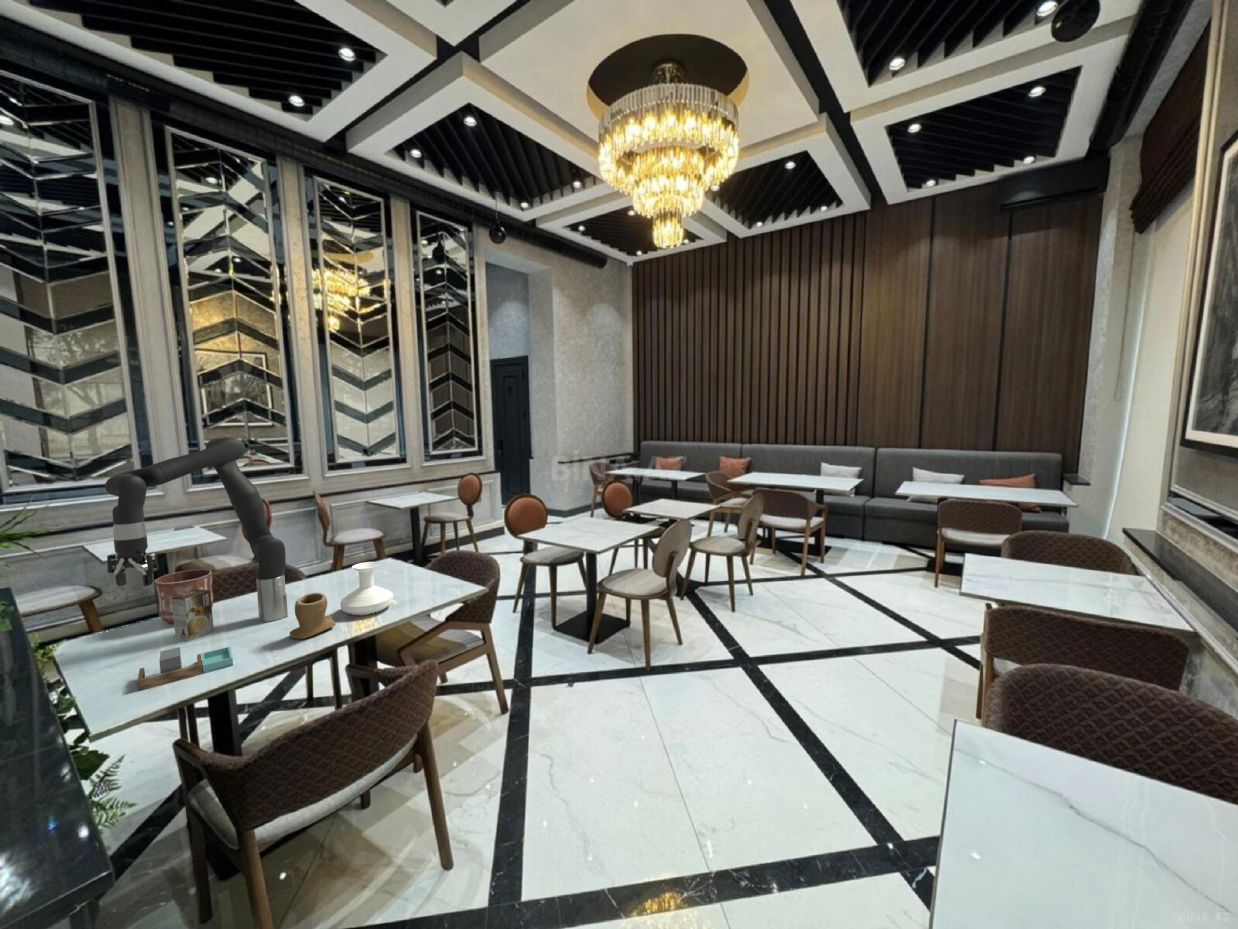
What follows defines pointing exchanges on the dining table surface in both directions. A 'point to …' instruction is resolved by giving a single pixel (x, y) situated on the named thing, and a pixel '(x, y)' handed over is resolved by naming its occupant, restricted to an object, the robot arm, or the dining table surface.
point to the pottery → (180, 589)
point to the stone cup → (311, 616)
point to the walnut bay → (169, 675)
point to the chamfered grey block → (170, 660)
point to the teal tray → (217, 659)
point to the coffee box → (192, 614)
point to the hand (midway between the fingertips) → (134, 585)
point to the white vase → (366, 593)
